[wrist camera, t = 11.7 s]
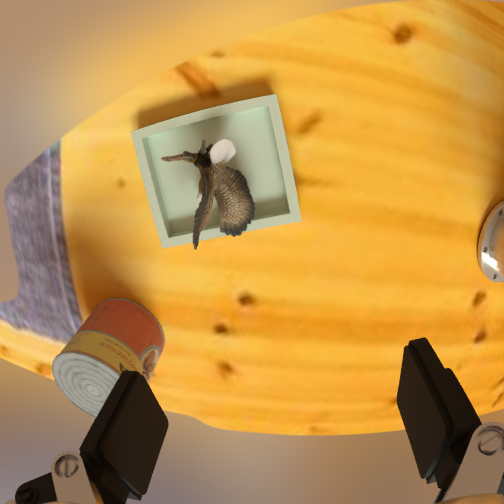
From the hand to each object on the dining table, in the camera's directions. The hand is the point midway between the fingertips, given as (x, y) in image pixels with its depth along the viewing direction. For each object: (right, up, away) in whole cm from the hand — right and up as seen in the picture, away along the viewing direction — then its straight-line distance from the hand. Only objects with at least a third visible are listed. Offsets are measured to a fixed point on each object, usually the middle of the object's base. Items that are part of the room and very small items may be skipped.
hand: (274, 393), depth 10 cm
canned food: (-18, -6, +30) cm, 36 cm away
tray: (-4, +13, +22) cm, 26 cm away
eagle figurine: (-4, +11, +21) cm, 24 cm away
